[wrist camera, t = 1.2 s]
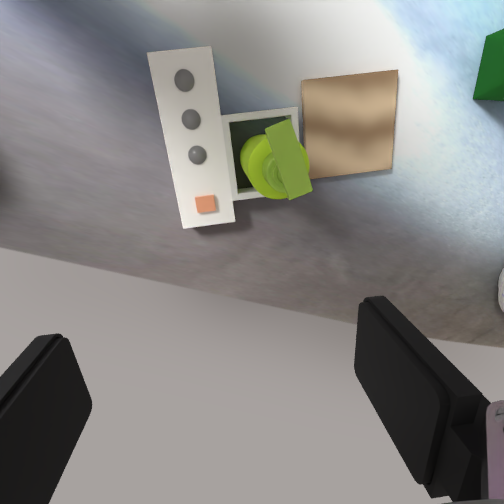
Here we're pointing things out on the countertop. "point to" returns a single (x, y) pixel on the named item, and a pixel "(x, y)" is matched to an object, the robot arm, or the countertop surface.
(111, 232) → the countertop surface
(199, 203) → the white holder tray
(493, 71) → the milk carton
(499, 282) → the paper bowls
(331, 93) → the oak board
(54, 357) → the robot arm
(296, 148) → the soap dispenser
